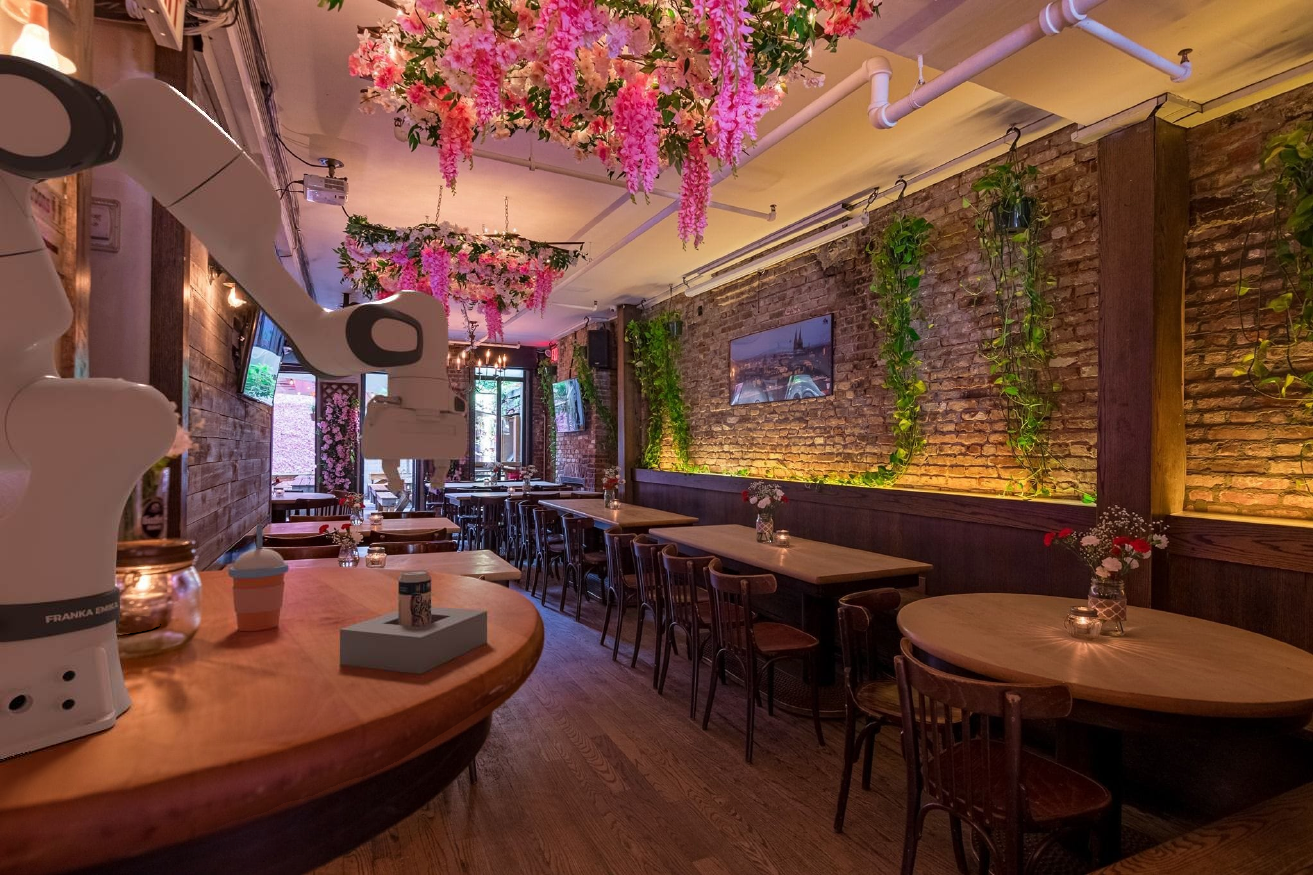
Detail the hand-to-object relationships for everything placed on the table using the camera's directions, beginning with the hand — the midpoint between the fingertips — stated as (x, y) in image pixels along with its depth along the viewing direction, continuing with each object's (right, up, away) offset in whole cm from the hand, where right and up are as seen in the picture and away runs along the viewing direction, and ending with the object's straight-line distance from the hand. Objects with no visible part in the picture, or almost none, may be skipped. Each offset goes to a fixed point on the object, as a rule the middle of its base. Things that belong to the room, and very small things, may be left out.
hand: (417, 489), depth 100 cm
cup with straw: (-34, -26, +15) cm, 45 cm away
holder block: (0, -25, -1) cm, 25 cm away
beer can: (-1, -25, 0) cm, 25 cm away
